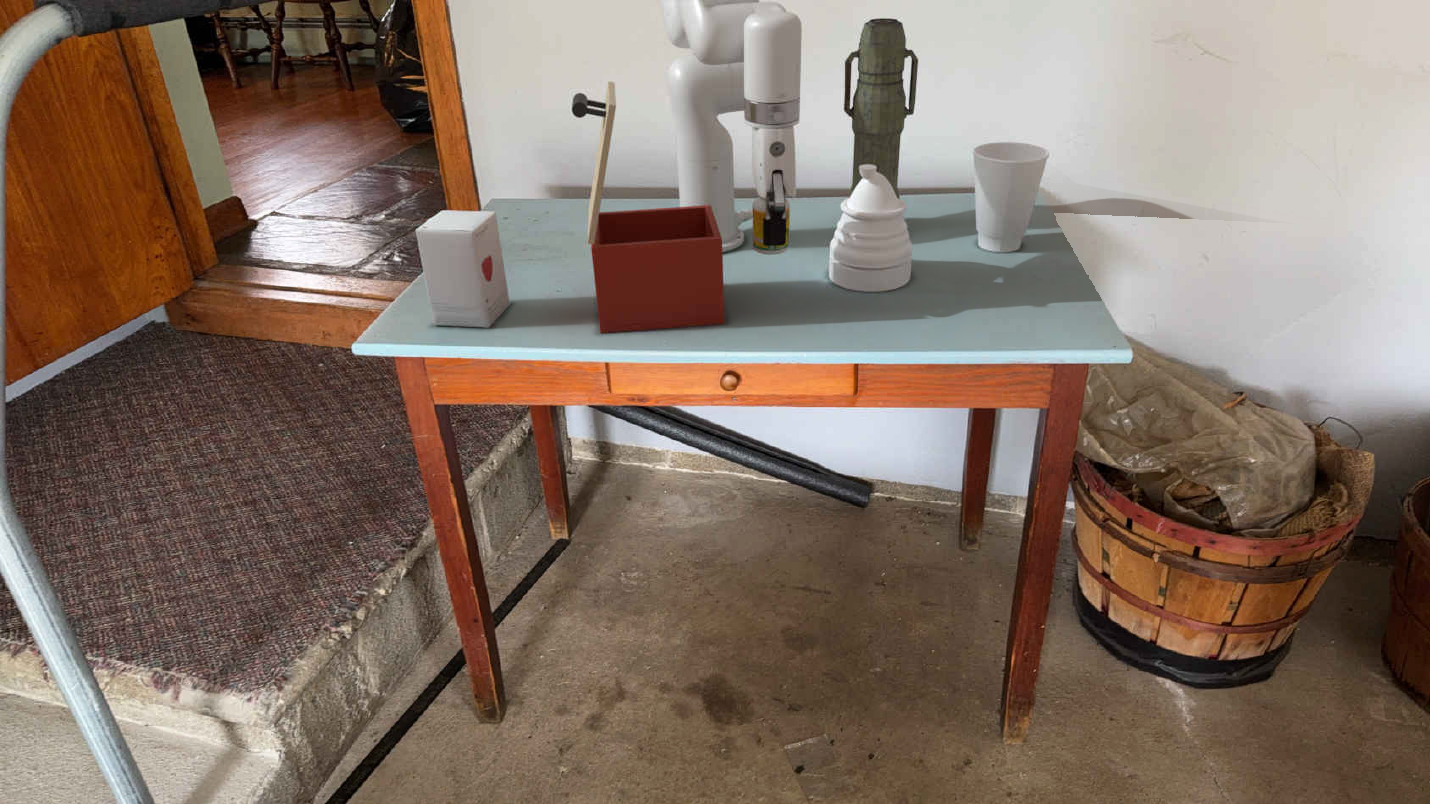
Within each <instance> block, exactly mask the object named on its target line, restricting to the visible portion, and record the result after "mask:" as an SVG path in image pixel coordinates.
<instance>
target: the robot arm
mask: <svg viewBox="0 0 1430 804" xmlns="http://www.w3.org/2000/svg"><path fill="white" fill-rule="evenodd" d="M659 2H660V7H661V12H662V18H663V23H664V27H665V31H666V34H667V37H668V39H669V42H670V43H671V44H672V46H674V47H676V48H679V49H687V50H688V49H690V50H691V52H692V53H691V54H688V55H684V56H681V57H679V58H677V59H676V60H674V61H673V62H672V64H671V65H670V66H669V68H668V71H667V76H666V82H667V83H666V84H667V85H666V86H667V92H668V95H669V96H668V97H669V101H670V106H671V112H672V116H673V123H674V132H675V145H676V158H677V176H678V177H677V178H678V195H679V207H689V206H704V205H711V208H712V210H713V213H714V216H715V219H716V222H717V225H718V228H719V231H720V234H721V237H722V253H725V252H730V251H732V250H735V249H737V248H739V247H740V246H742V245H743V243H745V234H744V231H743V230H741V229H739V228H740V226H741V225H742V223H745V222H748V221H750V220H753V211H752V210H750V209H748V208H747V209H744V210H741V211H739V212H738V211H736V210H735V208H736V207H735V172H734V171H735V169H734V168H735V167H734V166H735V165H734V142H733V139H732V136H731V134H730V132H729V130H727V128H726V127H725V126H724V125H723V124H722V123H721V122H720V120H719V119H718V116H719V115H723V114H727V113H735V112H736V113H737V112H744V113H743V115H744V116H743V117H744V125H746V126H749V127H751V132H752V133H751V164H752V165H751V166H752V169H751V170H752V179H753V183H754V185H755V188H756V191H757V190H758V192H759V194H760V196H761V197H762V198H763V199H764V200H765V218H763V244H764V246H777V245H785V243H786V210H785V198H786V195H787V197H788V198H790V199H794V198H795V197H796V196H797V177H796V176H797V175H796V168H797V167H796V166H797V165H796V141H795V139H796V137H795V129H794V126H796V125H798V124H799V123H800V117H801V116H800V115H801V113H800V112H801V78H802V77H801V76H802V75H801V71H802V36H803V35H802V34H803V33H802V32H803V31H802V22H801V19H800V17H799V15H797V14H795V13H793V12H789V11H787V9H786V8H785V7H784V6H783V5H782V4H780V3H778V2H775V1H760V0H659ZM768 193H773V195H774V197H768ZM756 195H757V194H756ZM757 197H759V196H758V195H757ZM757 197H756V198H757ZM770 201H774V203H773V204H774V205H771V207H770Z"/></svg>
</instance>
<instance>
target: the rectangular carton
mask: <svg viewBox="0 0 1430 804" xmlns="http://www.w3.org/2000/svg"><path fill="white" fill-rule="evenodd" d="M415 234H416V241H417V245H418V250H419V256H420V261H421V266H422V272H423V277H424V280H425V287H426V292H427V298H428V302H429V308H430V312H431V319H432V323H433V325H434V326H450V327H468V328H469V327H470V328H485V329H488V328H490V327H491V326H492V324H493V323H495V322H496V320H498V318H499V317H500V316H501V315H502V314H503V312H504V311H505V310H506V309H507V308H508V307H509V306H510V297H509V291H508V290H509V289H508V282H507V276H506V270H505V264H504V257H503V250H502V245H501V238H500V231H499V224H498V217H497V211H489V210H487V211H485V210H449V209H445V210H441V211H439V212H437V214H435V215H434V216H432V217H430V218H428V219H427V220H426V222H423V223H422V225H420V226H418V228H416V229H415Z"/></svg>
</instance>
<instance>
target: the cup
mask: <svg viewBox="0 0 1430 804" xmlns="http://www.w3.org/2000/svg"><path fill="white" fill-rule="evenodd" d="M972 154H973V173H974V175H973V177H974V203H975V204H974V205H975V231H976V232H977V245H978V247H979V248H981V249H983V250H985V251H988V252H993V253H1012V252H1015V251H1017V250H1019V249H1020V248H1021V245H1022V240H1023V237H1024V235H1026V232H1027V229H1028V227H1029V223H1030V219H1031V216H1032V213H1033V209H1034V207H1035V206H1034V205H1035V202H1036V199H1037V196H1038V192H1039V189H1040V185H1041V182H1042V178H1043V175H1044V171H1045V169H1046V165H1047V161H1048V159H1049V157H1050V152H1049V150H1047V149H1046V148H1044V147H1041V146H1039V145H1035V144H1030V143H1025V142H1016V141H1015V142H1013V141H999V142H989V143H984V144H981V145H978V146H976V147H974V149H973V151H972Z"/></svg>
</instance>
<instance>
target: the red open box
mask: <svg viewBox="0 0 1430 804" xmlns="http://www.w3.org/2000/svg"><path fill="white" fill-rule="evenodd" d="M590 247H591V248H590V249H591V258H592V259H591V260H592V269H593V277H594V288H595V295H596V296H595V297H596V305H597V315H598V325H599V333H600V334H609V333H621V332H635V331H636V332H637V331H648V330H660V329H661V330H662V329H674V328H675V329H676V328H685V327H686V328H687V327H700V326H713V325H724V324H725V323H726V322H725V320H726V319H725V290H724V287H725V286H724V262H723V261H724V257H723V255H724V254H723V252H722V237H721V234H720V231H719V228H718V225H717V222H716V219H715V216H714V213H713V210H712V208H711V205H704V206H689V207H680V206H675V207H662V208H661V207H660V208H647V209H632V210H616V211H601V212H600V211H599V217H598V223H597V229H596V236H595V242H594V244H590Z"/></svg>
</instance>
